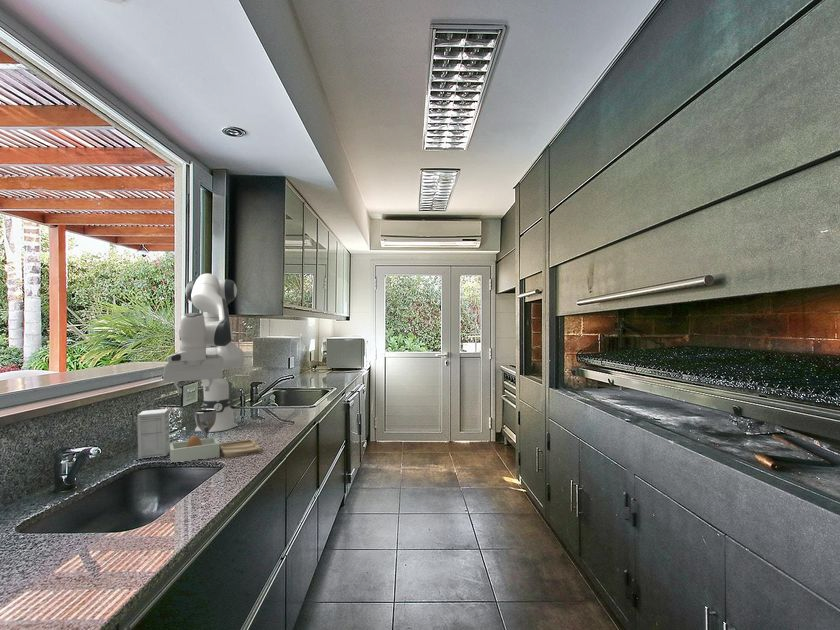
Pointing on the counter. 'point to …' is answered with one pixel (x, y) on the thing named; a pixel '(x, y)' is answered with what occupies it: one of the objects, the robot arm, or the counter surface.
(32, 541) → the counter surface
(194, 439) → the egg
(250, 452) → the tray
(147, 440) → the supplement box
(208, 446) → the bin
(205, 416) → the wine glass
